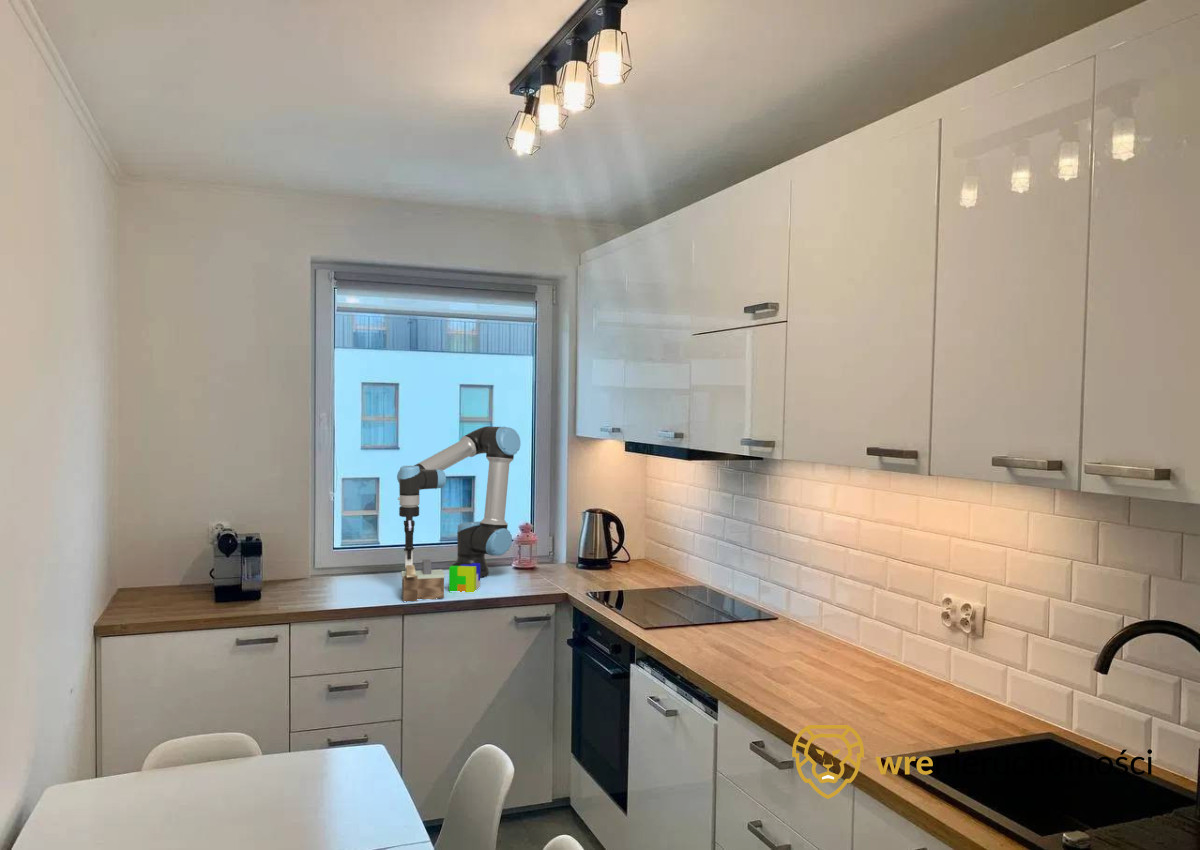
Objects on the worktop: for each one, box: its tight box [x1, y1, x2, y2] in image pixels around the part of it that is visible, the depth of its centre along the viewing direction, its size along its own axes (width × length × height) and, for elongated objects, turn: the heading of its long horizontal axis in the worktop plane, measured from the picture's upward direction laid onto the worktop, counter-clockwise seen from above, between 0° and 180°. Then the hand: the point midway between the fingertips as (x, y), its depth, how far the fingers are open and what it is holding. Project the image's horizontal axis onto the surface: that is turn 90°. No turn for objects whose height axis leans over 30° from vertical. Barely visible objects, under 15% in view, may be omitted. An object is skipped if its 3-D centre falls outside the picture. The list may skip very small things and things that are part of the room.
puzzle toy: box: [448, 562, 481, 592], centre depth 340 cm, size 10×10×10 cm
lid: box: [400, 559, 446, 580], centre depth 328 cm, size 16×10×7 cm
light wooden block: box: [405, 564, 416, 577], centre depth 321 cm, size 3×8×3 cm, turn 16°
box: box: [401, 576, 445, 602], centre depth 327 cm, size 15×13×9 cm
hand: (408, 566), depth 330 cm, fingers closed
